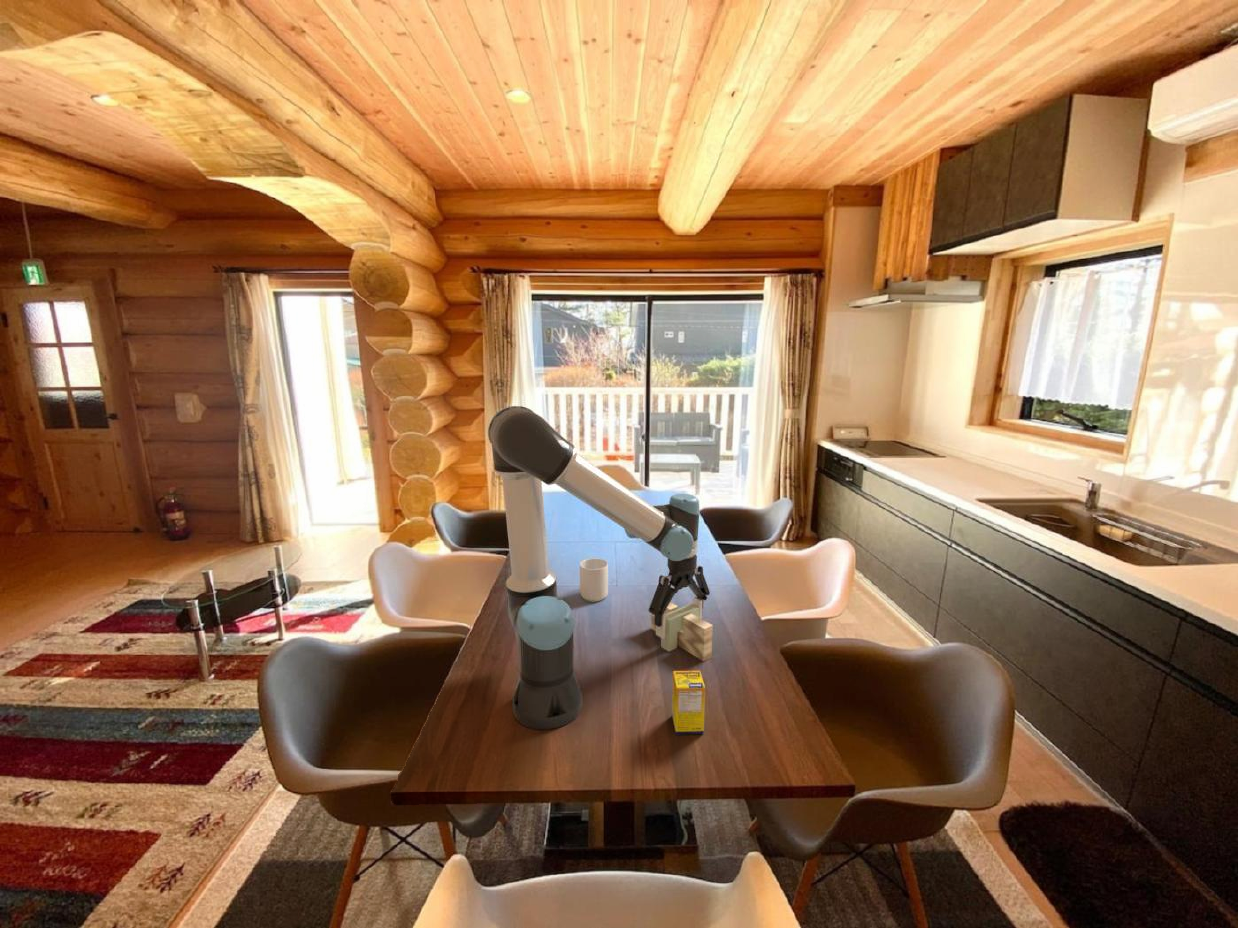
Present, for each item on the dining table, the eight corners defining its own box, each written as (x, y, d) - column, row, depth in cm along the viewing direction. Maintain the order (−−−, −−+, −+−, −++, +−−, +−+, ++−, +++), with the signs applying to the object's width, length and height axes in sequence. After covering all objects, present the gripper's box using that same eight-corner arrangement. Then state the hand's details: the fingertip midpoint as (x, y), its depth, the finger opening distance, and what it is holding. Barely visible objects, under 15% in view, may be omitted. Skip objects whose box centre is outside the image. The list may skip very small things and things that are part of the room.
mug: (605, 603, 161) (605, 570, 158) (577, 601, 162) (577, 568, 159) (611, 586, 172) (611, 555, 170) (585, 585, 173) (584, 554, 171)
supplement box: (698, 714, 112) (700, 669, 109) (704, 734, 106) (706, 687, 103) (671, 715, 111) (672, 669, 109) (675, 735, 106) (676, 687, 103)
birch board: (711, 657, 133) (712, 625, 131) (703, 661, 131) (704, 629, 129) (658, 625, 148) (659, 596, 146) (651, 628, 146) (651, 599, 144)
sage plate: (668, 651, 135) (669, 620, 133) (660, 646, 137) (661, 615, 135) (698, 637, 142) (699, 607, 140) (690, 633, 144) (691, 603, 142)
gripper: (656, 569, 124) (653, 649, 128) (725, 547, 139) (721, 620, 143) (636, 559, 129) (634, 636, 134) (704, 539, 144) (701, 609, 149)
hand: (679, 628), depth 138 cm, fingers open, 13 cm apart
